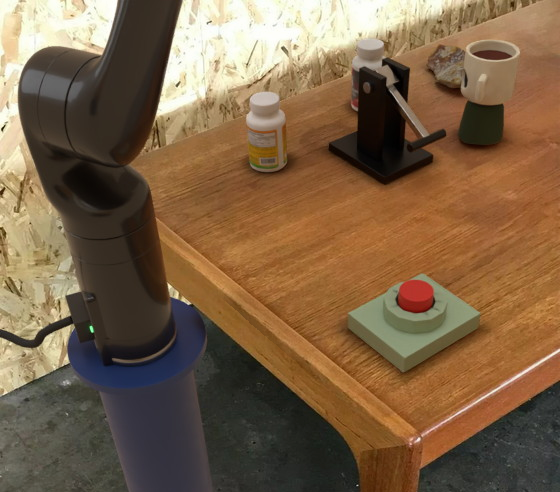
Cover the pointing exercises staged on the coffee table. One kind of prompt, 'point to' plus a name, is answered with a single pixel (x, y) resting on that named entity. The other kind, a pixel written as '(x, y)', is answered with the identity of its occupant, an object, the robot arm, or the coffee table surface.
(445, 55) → the decorative stone
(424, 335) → the button block
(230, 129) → the coffee table surface
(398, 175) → the switch bracket
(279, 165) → the supplement bottle
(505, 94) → the character mug
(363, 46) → the pill bottle
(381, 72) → the switch lever
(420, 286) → the button
